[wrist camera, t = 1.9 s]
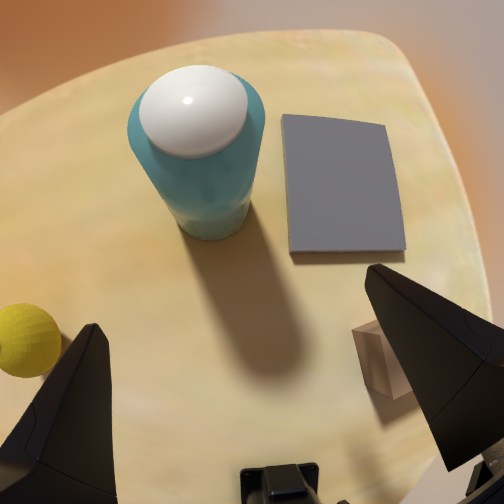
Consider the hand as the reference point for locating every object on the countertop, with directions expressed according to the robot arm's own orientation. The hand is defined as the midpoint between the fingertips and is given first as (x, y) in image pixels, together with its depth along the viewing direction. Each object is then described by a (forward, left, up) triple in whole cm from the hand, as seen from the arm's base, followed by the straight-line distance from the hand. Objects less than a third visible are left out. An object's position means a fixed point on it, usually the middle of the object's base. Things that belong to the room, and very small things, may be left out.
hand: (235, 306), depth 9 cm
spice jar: (+8, +2, -13) cm, 16 cm away
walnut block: (-4, -12, -14) cm, 19 cm away
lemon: (-3, +16, -14) cm, 21 cm away
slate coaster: (+10, -9, -13) cm, 19 cm away
